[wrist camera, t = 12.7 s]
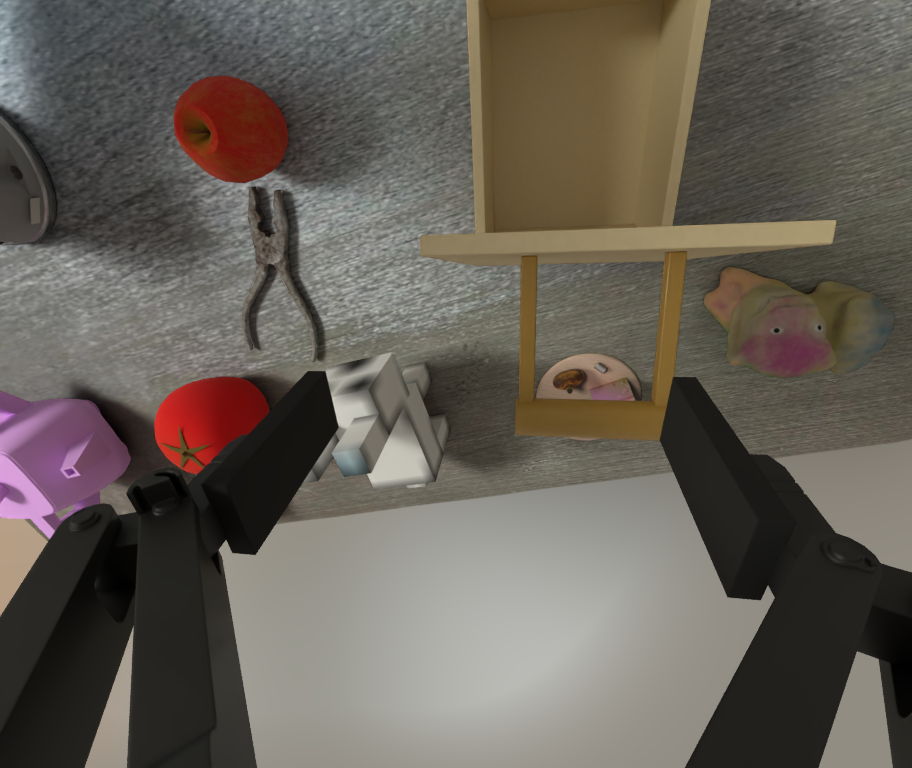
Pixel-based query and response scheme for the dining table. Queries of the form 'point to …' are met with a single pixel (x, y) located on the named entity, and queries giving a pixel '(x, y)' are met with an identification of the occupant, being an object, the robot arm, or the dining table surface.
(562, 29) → the chest
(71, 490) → the teapot
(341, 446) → the toy llama
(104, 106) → the dining table surface
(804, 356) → the sculpture
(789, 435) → the dining table surface
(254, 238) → the pliers
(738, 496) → the robot arm
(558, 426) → the lid
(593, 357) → the pink plate
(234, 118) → the apple
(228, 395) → the tomato
